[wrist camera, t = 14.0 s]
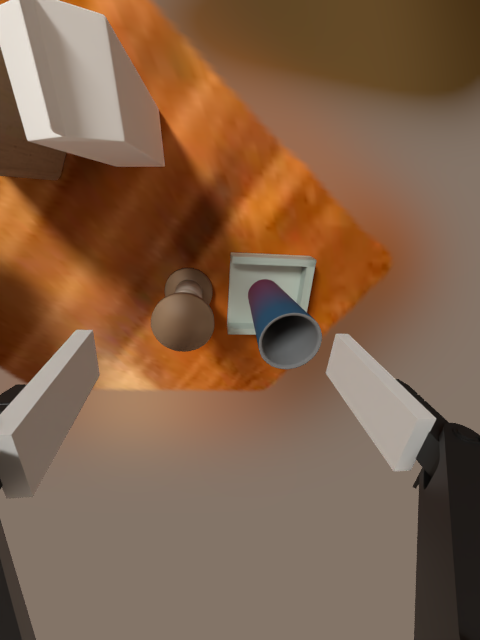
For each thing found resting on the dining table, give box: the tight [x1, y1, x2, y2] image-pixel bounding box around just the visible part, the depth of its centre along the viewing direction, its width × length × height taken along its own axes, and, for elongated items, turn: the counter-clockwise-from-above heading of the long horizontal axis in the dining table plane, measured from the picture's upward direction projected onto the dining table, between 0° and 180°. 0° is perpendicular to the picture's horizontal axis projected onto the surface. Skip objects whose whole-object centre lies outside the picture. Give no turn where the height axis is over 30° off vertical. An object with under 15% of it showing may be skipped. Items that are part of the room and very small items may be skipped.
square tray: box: [227, 252, 316, 335], centre depth 42 cm, size 12×12×3 cm
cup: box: [248, 279, 322, 369], centre depth 36 cm, size 7×7×15 cm
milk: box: [0, 0, 165, 167], centre depth 23 cm, size 6×6×22 cm
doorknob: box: [151, 268, 214, 351], centre depth 36 cm, size 7×7×12 cm
